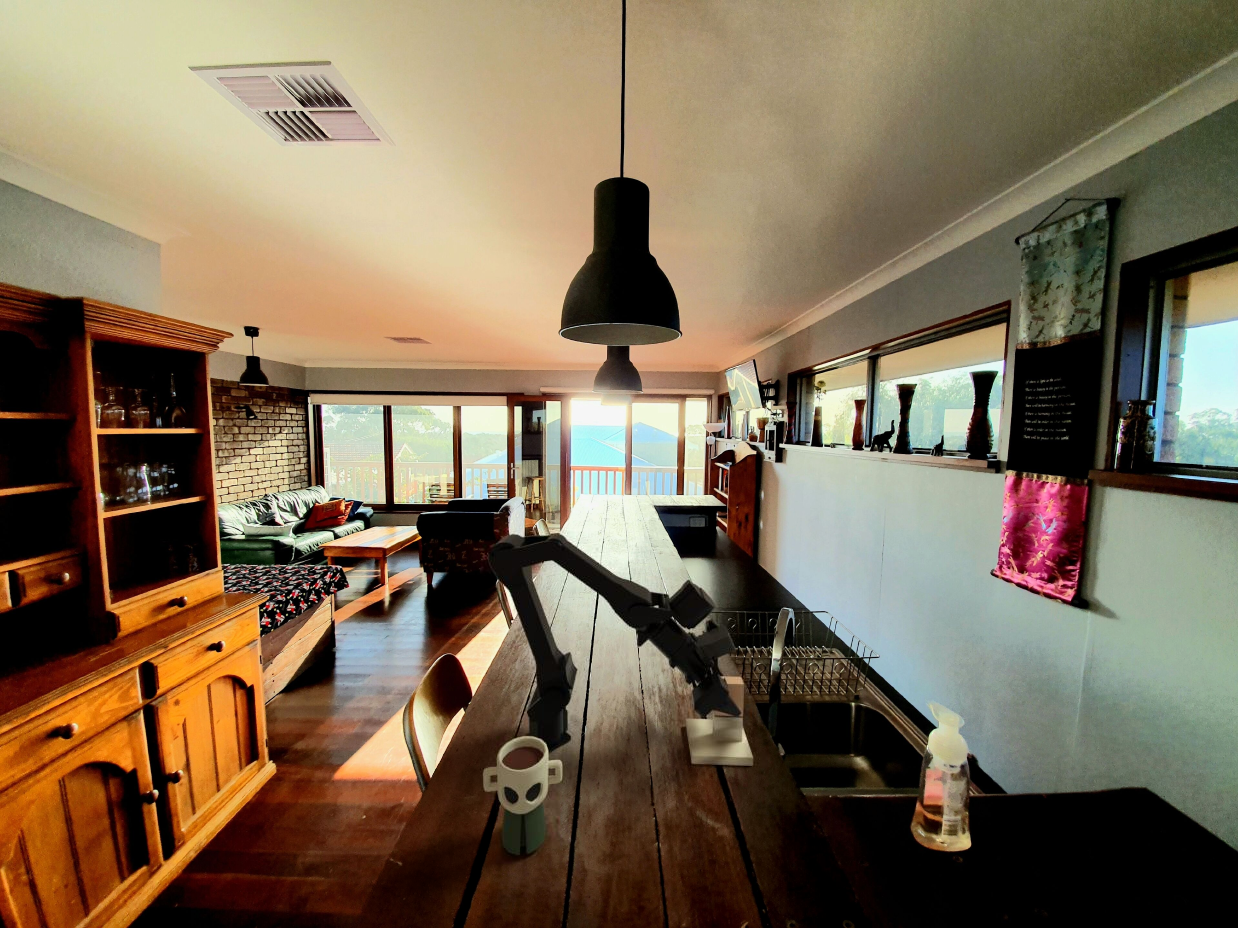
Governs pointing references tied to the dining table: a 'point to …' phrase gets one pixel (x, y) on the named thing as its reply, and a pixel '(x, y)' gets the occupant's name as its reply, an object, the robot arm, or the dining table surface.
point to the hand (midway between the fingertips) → (735, 703)
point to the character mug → (523, 791)
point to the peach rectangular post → (734, 693)
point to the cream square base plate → (718, 741)
